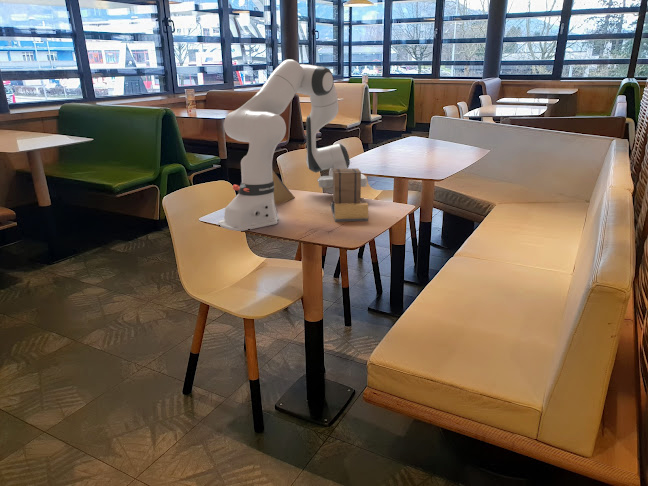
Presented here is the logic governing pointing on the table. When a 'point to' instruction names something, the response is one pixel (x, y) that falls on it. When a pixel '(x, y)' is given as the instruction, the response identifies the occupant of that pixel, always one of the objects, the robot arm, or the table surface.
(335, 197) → the crate
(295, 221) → the table surface
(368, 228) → the table surface
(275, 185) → the sandwich container
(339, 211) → the roller track
